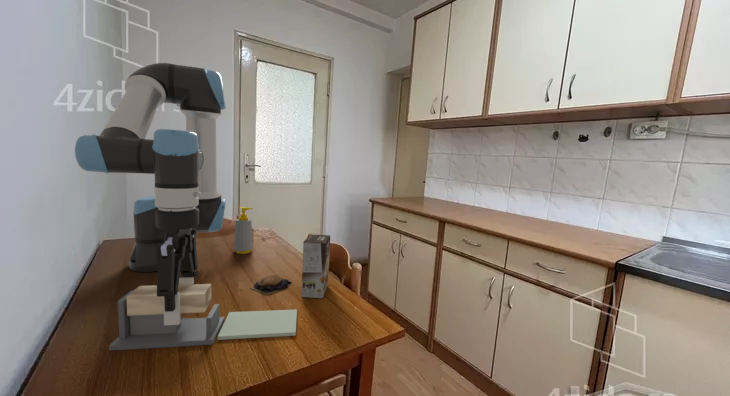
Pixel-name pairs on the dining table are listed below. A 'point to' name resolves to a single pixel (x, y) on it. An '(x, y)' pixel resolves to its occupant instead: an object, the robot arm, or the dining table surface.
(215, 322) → the cradle
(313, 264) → the coffee box
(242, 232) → the soap bottle
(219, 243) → the dining table surface
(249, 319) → the sage mat
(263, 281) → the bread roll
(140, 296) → the maple bar
